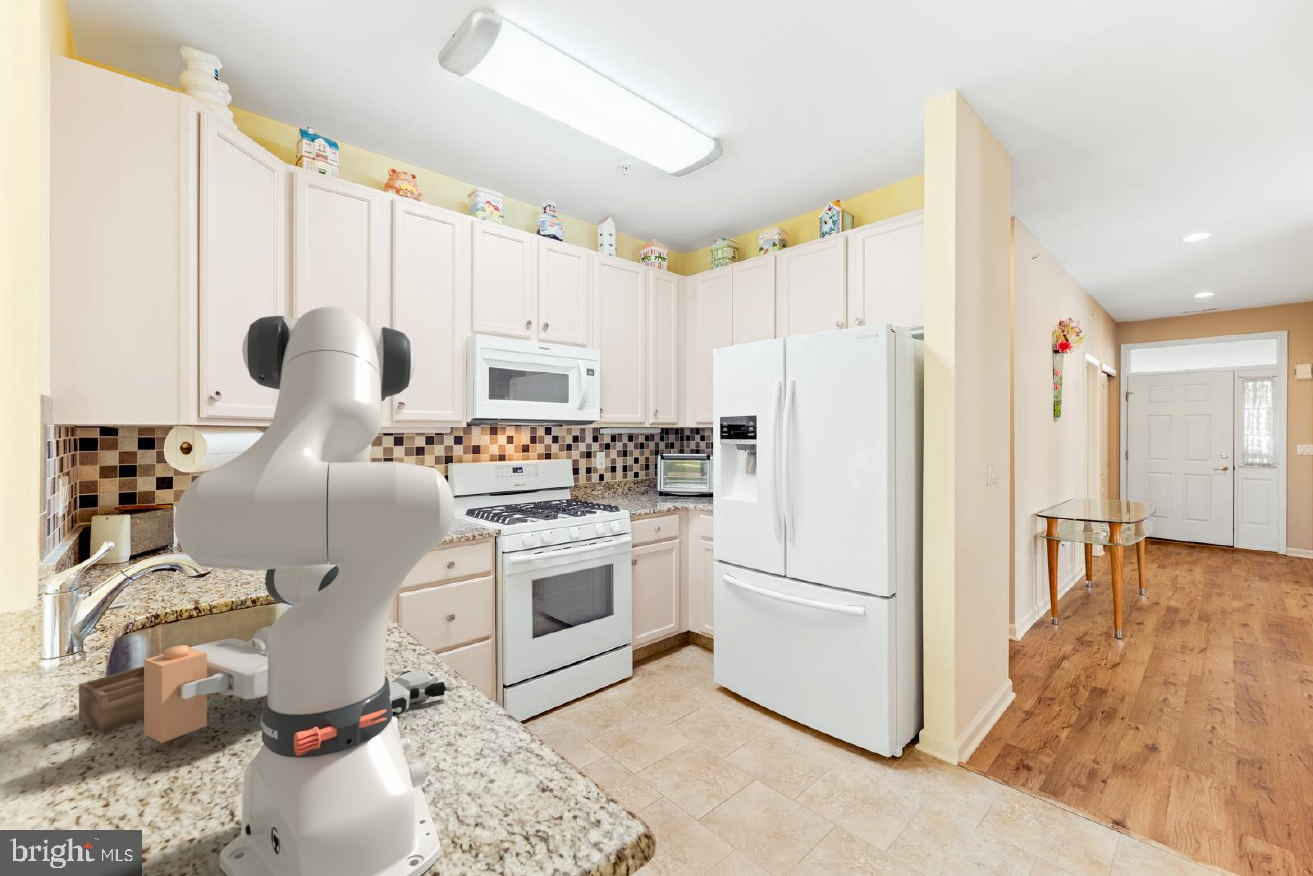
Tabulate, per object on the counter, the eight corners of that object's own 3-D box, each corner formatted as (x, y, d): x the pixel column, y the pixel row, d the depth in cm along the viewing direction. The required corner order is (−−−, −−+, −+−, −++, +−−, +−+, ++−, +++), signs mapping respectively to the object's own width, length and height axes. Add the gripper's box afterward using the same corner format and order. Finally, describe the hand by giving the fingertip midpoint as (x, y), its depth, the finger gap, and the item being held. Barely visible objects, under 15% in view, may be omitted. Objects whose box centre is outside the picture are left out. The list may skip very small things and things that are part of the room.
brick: (207, 725, 77) (207, 645, 77) (161, 743, 73) (161, 658, 73) (188, 717, 79) (188, 640, 79) (144, 734, 75) (144, 651, 75)
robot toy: (411, 687, 96) (321, 718, 83) (413, 660, 96) (323, 687, 83) (459, 705, 89) (370, 741, 76) (461, 676, 89) (372, 707, 77)
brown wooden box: (171, 708, 86) (171, 674, 86) (102, 732, 79) (102, 695, 79) (147, 697, 90) (147, 665, 90) (78, 719, 83) (78, 684, 83)
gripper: (241, 623, 92) (132, 651, 80) (315, 643, 83) (206, 678, 71) (241, 661, 92) (132, 695, 80) (316, 685, 83) (206, 728, 71)
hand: (167, 687), depth 75 cm, fingers closed on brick, 5 cm apart
